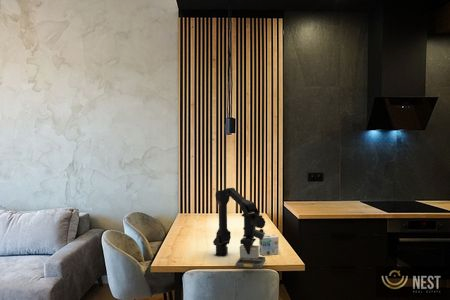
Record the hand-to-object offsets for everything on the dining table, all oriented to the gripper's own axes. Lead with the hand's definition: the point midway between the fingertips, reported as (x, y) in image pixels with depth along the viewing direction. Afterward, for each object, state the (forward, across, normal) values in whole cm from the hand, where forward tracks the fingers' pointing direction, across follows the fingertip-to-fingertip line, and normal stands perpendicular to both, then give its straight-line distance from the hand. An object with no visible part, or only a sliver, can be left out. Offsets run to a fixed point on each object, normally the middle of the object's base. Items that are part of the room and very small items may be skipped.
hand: (249, 253), depth 203 cm
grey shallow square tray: (+7, +3, 0) cm, 8 cm away
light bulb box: (+7, +25, -7) cm, 27 cm away
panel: (+2, 0, 0) cm, 2 cm away
